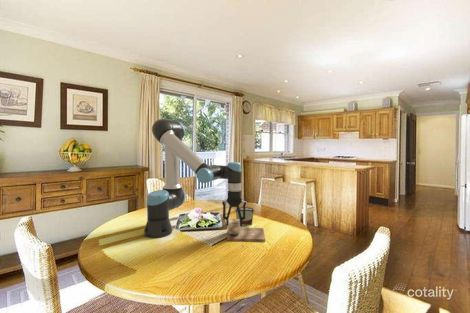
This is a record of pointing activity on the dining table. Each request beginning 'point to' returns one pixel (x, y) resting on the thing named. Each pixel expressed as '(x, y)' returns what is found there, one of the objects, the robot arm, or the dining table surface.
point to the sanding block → (234, 227)
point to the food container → (246, 215)
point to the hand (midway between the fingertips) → (234, 231)
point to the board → (248, 235)
